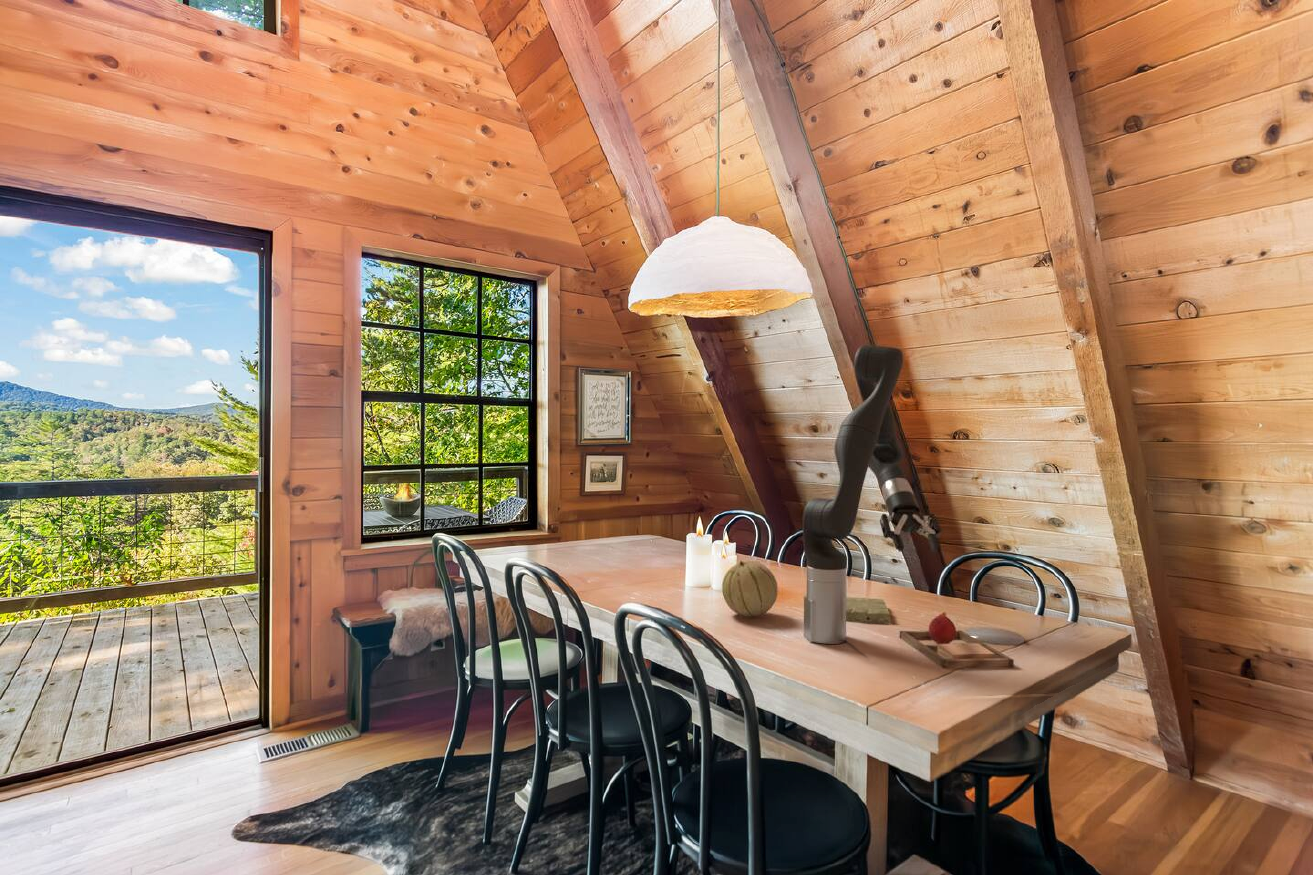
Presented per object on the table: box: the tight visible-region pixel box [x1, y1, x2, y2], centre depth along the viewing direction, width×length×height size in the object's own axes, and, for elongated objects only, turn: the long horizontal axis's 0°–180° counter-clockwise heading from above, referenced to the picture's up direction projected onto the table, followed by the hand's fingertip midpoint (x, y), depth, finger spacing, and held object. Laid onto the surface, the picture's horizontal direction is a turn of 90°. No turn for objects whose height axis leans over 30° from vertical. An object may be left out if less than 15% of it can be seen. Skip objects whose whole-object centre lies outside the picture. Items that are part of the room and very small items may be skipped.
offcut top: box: [937, 643, 995, 659], centre depth 150 cm, size 9×7×1 cm
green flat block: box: [846, 596, 892, 625], centre depth 191 cm, size 19×20×4 cm
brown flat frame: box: [899, 630, 1014, 669], centre depth 156 cm, size 15×22×2 cm
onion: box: [928, 611, 957, 645], centre depth 161 cm, size 6×6×8 cm
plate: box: [963, 626, 1025, 646], centre depth 167 cm, size 13×13×1 cm
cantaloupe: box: [721, 560, 779, 618], centre depth 187 cm, size 15×15×15 cm
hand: (918, 549), depth 173 cm, fingers open, 8 cm apart
